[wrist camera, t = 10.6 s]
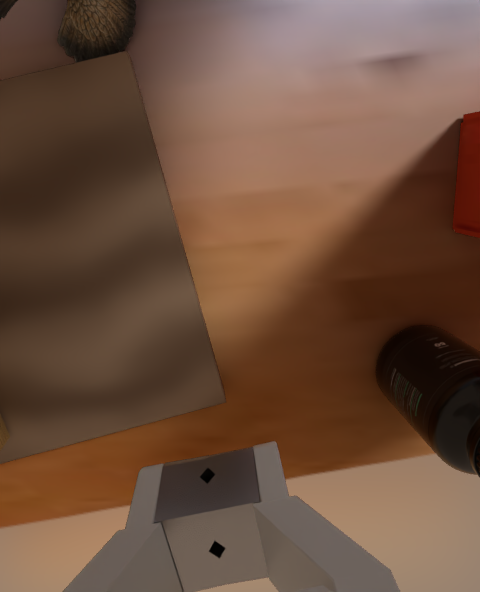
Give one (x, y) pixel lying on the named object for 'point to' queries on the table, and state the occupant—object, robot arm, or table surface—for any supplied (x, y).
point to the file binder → (468, 178)
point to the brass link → (3, 433)
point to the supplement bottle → (436, 391)
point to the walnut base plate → (91, 265)
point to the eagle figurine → (92, 26)
